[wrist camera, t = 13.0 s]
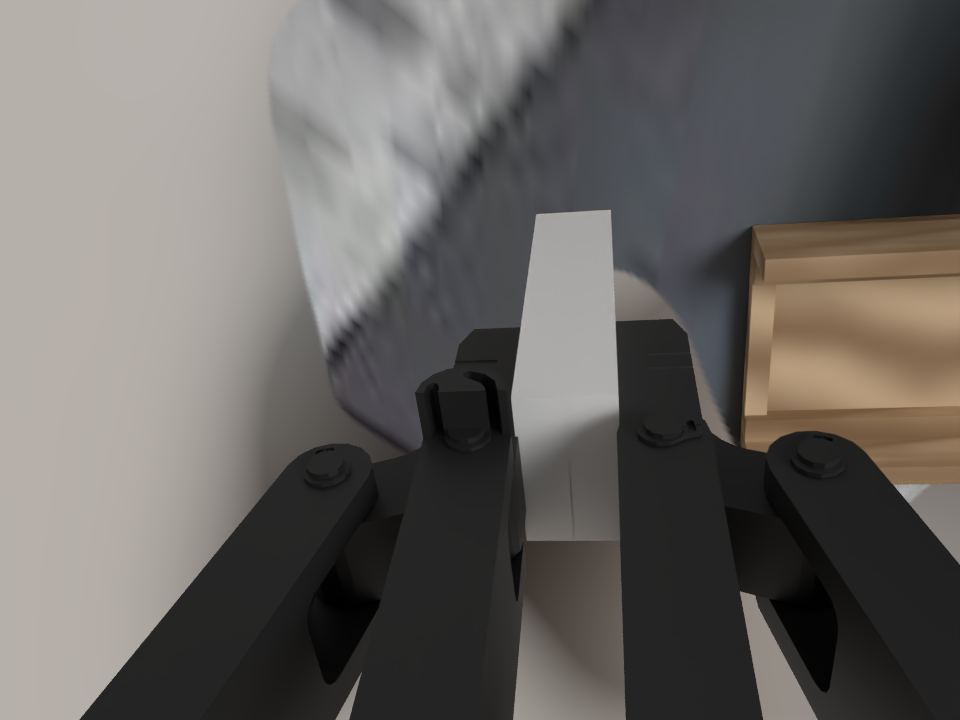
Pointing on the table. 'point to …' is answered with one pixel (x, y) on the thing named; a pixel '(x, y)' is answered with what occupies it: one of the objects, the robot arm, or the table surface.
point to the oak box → (858, 340)
